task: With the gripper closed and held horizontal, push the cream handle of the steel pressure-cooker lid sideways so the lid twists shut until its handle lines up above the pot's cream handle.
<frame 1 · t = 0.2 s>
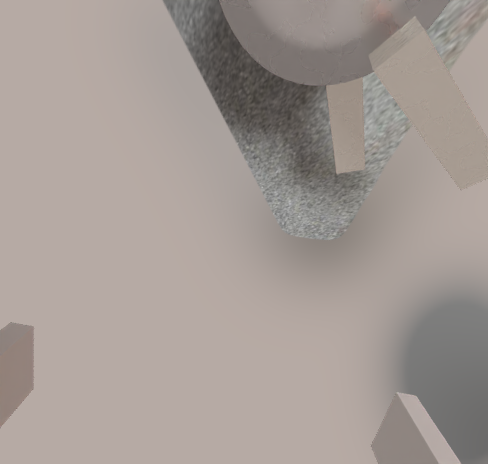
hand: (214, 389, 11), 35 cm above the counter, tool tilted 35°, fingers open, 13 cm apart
lid: (393, 42, 20), point 14 cm above the counter, hinge at 30.0°
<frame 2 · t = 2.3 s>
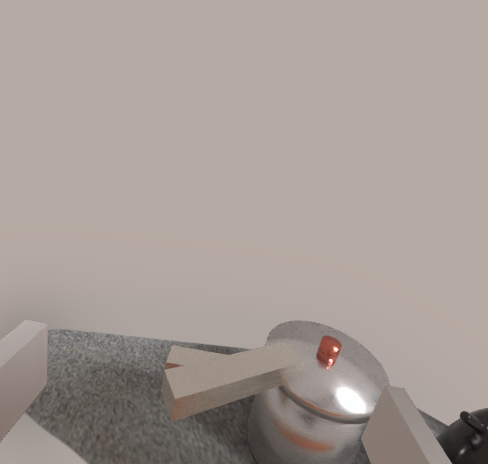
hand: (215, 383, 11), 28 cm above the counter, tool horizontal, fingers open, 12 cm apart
lid: (287, 366, 33), point 14 cm above the counter, hinge at 30.0°
cooker pot: (296, 438, 40), on the counter
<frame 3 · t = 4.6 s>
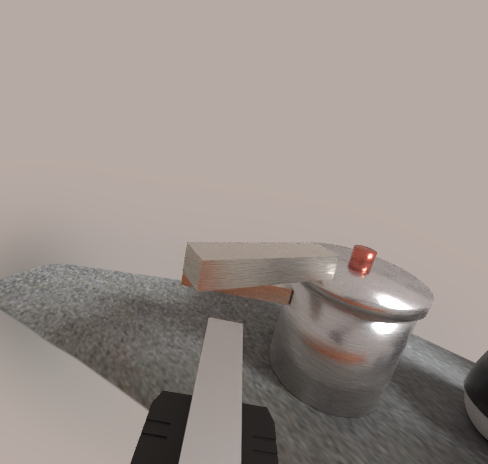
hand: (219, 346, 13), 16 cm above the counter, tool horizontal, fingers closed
lid: (319, 267, 29), point 14 cm above the counter, hinge at 30.0°
cooker pot: (323, 366, 37), on the counter
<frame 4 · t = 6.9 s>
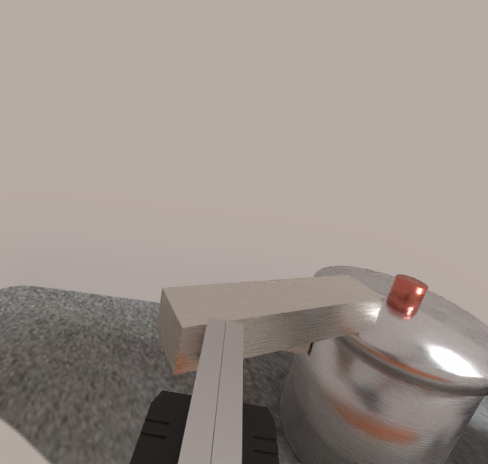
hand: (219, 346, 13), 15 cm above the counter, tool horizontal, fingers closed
lid: (354, 309, 21), point 14 cm above the counter, hinge at 29.7°, touching gripper
cooker pot: (348, 427, 29), on the counter
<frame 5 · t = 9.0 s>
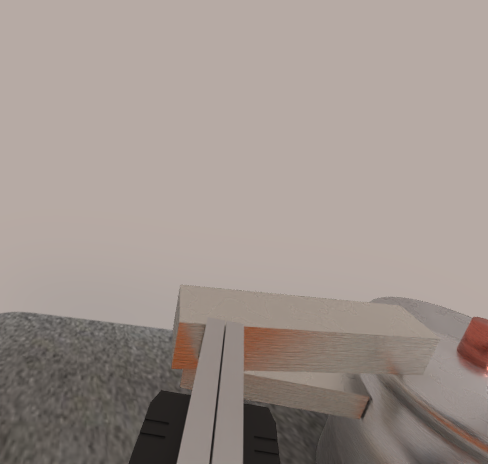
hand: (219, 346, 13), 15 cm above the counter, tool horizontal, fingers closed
lid: (402, 348, 18), point 14 cm above the counter, hinge at 11.6°, touching gripper
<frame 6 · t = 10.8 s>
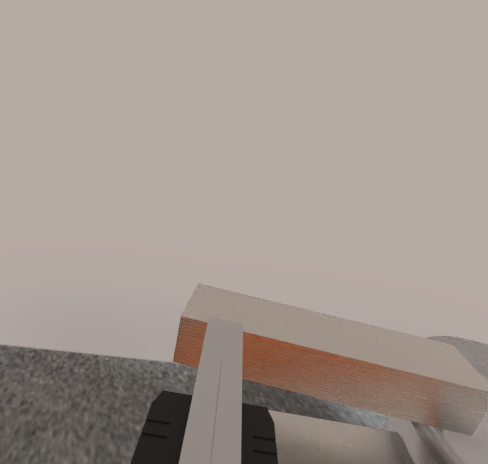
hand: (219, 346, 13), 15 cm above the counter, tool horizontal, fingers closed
lid: (450, 397, 15), point 14 cm above the counter, hinge at -5.1°, touching gripper
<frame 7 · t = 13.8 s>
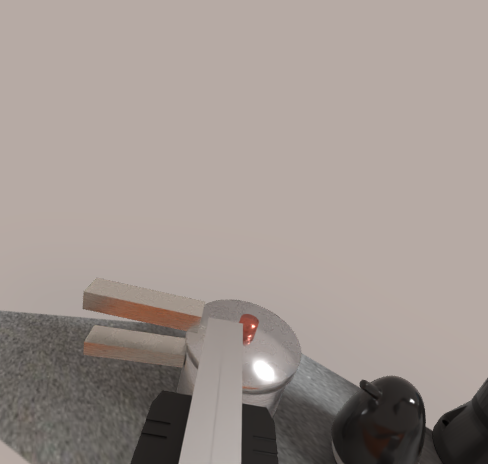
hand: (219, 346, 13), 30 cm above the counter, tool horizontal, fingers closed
lid: (198, 321, 37), point 14 cm above the counter, hinge at -5.2°
cooker pot: (221, 409, 43), on the counter
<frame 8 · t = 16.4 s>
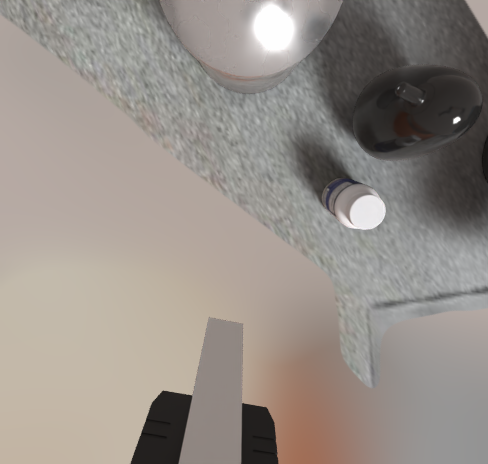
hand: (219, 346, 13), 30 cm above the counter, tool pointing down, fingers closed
cooker pot: (249, 30, 35), on the counter
pump dispenser: (380, 118, 39), on the counter
pill bottle: (339, 196, 42), on the counter
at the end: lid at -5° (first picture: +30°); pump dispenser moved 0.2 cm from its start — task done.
